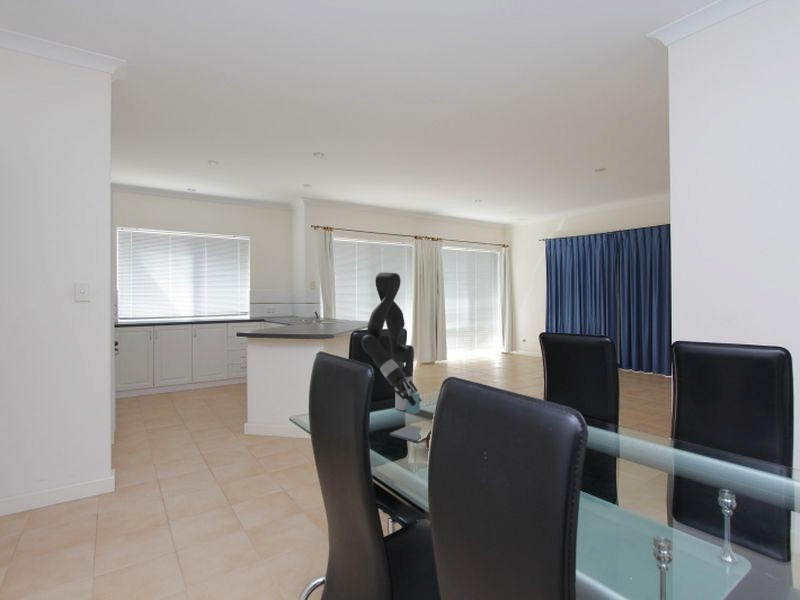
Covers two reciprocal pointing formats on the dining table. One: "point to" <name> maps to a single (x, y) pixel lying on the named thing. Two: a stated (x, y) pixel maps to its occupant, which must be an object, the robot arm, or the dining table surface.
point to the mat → (408, 433)
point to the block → (416, 407)
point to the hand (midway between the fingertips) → (417, 403)
